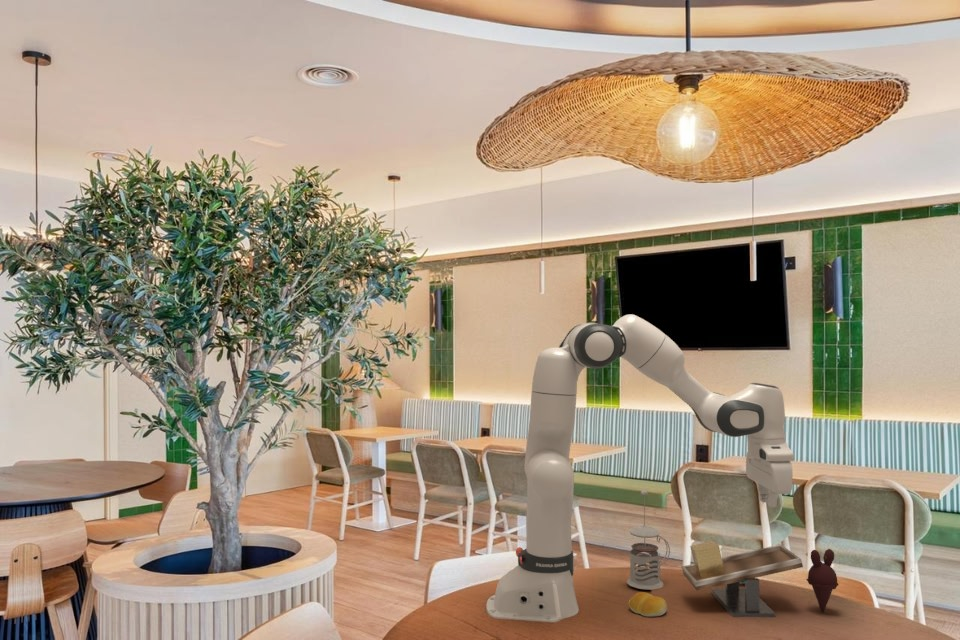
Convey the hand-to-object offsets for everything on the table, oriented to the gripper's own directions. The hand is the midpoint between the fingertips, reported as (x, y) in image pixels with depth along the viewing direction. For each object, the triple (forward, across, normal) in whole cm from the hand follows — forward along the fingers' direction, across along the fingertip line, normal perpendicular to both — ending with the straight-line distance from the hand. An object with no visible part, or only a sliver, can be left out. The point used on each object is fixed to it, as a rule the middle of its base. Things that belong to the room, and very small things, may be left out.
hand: (768, 504), depth 174 cm
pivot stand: (+25, 0, -7) cm, 26 cm away
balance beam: (+17, 0, -7) cm, 18 cm away
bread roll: (+25, +5, -28) cm, 38 cm away
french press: (+25, -16, -27) cm, 40 cm away
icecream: (+25, +4, +11) cm, 28 cm away
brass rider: (+17, 0, -15) cm, 22 cm away
